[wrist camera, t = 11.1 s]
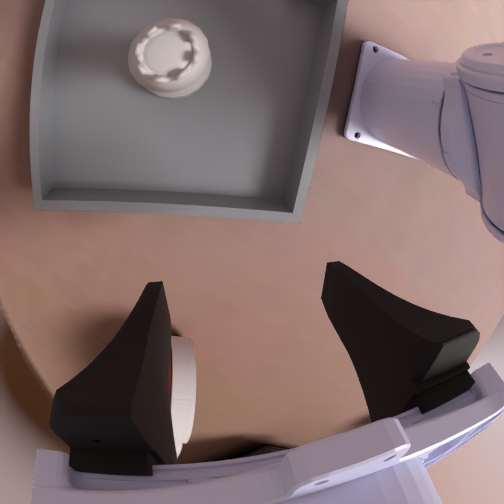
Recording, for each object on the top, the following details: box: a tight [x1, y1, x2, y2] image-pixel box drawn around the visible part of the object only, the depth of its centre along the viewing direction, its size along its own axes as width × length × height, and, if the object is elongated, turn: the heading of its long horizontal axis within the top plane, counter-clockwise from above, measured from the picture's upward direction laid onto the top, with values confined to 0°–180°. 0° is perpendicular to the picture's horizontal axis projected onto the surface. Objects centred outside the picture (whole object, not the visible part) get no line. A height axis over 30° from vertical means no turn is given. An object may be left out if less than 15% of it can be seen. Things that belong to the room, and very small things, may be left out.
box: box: [30, 0, 348, 223], centre depth 16 cm, size 18×16×3 cm
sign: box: [169, 336, 196, 459], centre depth 28 cm, size 22×2×10 cm, turn 161°
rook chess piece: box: [127, 18, 213, 100], centre depth 12 cm, size 4×4×8 cm
